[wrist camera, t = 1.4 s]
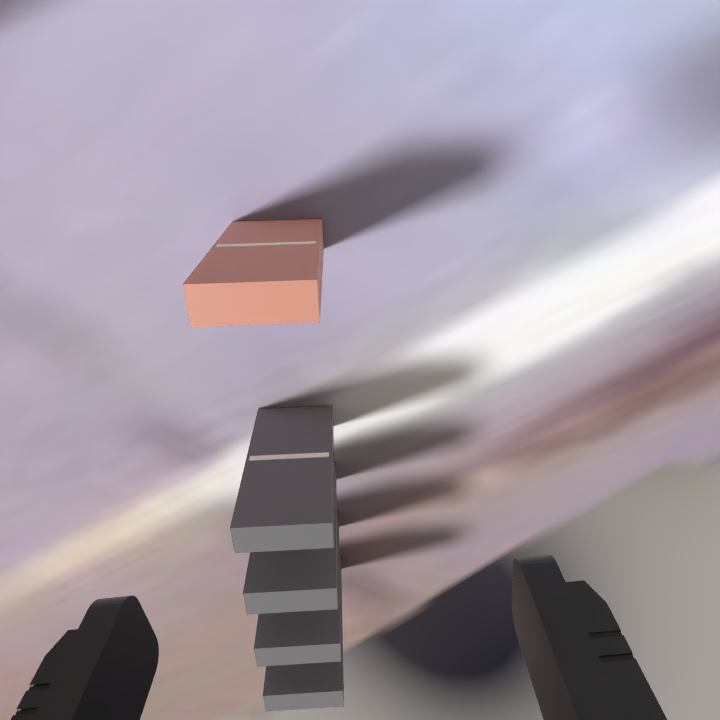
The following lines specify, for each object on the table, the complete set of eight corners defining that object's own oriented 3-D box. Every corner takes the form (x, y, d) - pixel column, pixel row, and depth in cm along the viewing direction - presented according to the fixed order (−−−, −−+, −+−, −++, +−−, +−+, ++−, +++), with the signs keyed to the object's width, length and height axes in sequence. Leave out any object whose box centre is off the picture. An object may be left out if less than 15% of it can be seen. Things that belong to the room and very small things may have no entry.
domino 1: (323, 249, 30) (319, 323, 20) (236, 252, 30) (191, 328, 20) (321, 217, 29) (316, 278, 20) (232, 220, 29) (182, 283, 19)
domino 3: (336, 480, 39) (337, 609, 29) (268, 483, 38) (247, 615, 29) (335, 460, 38) (336, 587, 28) (265, 464, 37) (242, 593, 28)
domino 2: (333, 427, 36) (333, 548, 26) (261, 430, 36) (234, 553, 26) (332, 404, 35) (332, 522, 26) (258, 408, 35) (230, 527, 25)
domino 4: (338, 527, 41) (341, 661, 31) (274, 530, 41) (257, 667, 31) (337, 510, 40) (340, 642, 30) (272, 513, 40) (253, 648, 30)
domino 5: (341, 569, 43) (343, 706, 34) (280, 572, 43) (266, 711, 33) (340, 553, 42) (342, 690, 33) (278, 557, 42) (262, 695, 32)
